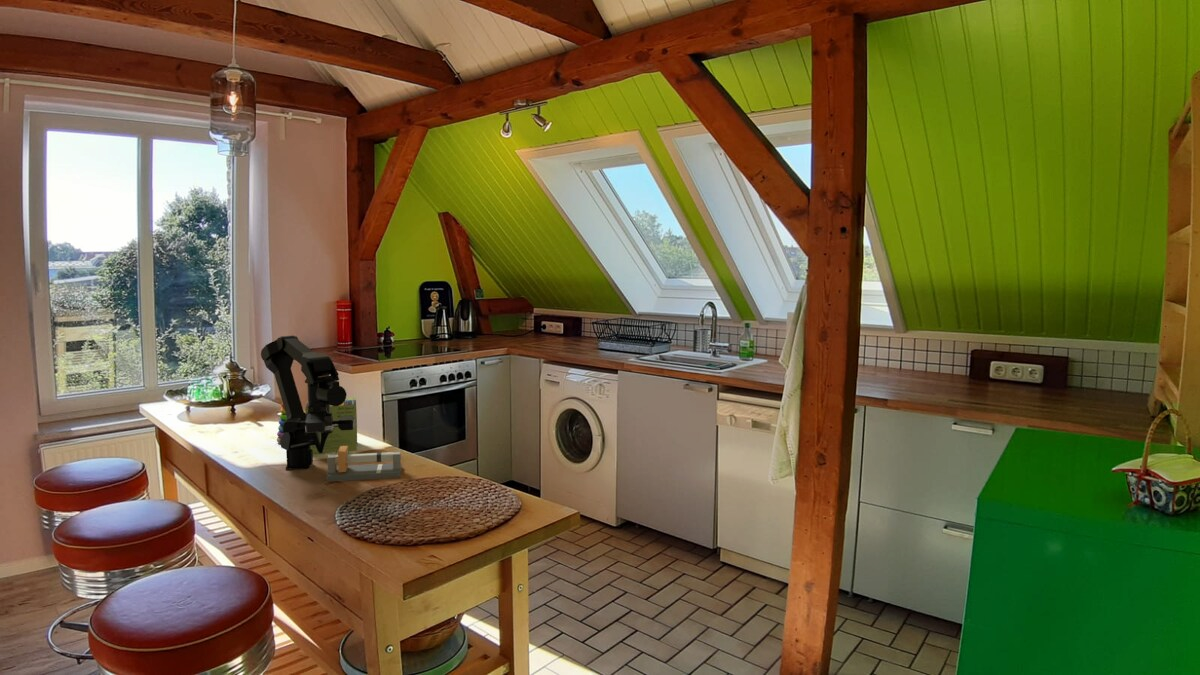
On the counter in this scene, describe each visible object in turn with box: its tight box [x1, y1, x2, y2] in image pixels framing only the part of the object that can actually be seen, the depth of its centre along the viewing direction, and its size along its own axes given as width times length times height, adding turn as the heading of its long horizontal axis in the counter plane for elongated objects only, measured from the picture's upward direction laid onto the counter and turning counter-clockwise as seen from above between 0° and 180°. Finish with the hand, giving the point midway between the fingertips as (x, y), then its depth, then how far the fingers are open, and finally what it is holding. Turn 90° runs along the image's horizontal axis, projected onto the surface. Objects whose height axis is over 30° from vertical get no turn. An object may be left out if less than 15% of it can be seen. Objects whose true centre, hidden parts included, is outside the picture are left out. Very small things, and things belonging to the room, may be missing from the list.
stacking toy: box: [276, 401, 287, 444], centre depth 228 cm, size 8×8×19 cm
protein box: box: [304, 397, 358, 455], centre depth 222 cm, size 10×15×16 cm
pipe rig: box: [326, 450, 402, 482], centre depth 198 cm, size 20×9×6 cm, turn 104°
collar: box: [337, 446, 349, 472], centre depth 196 cm, size 2×6×6 cm, turn 14°
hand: (320, 453), depth 195 cm, fingers closed
